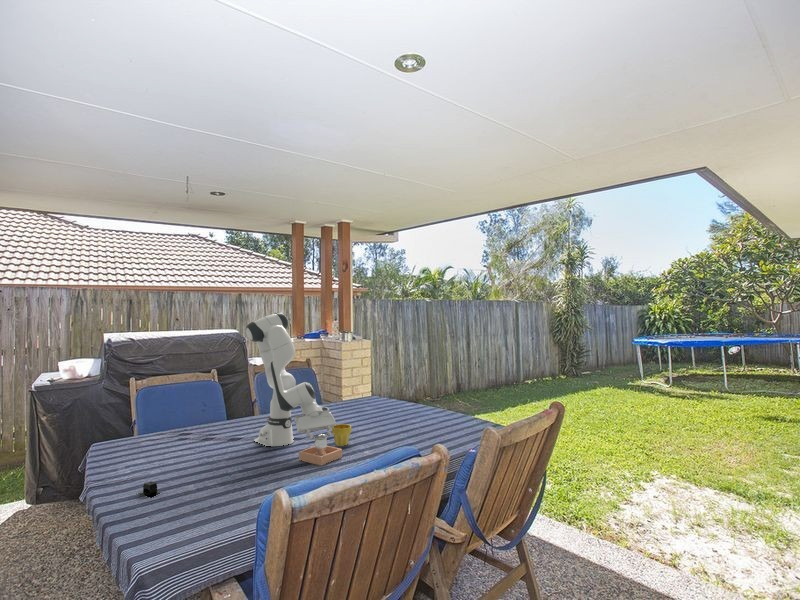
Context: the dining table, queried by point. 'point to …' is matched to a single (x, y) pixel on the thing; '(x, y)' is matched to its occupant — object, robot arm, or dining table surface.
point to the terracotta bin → (310, 456)
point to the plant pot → (341, 434)
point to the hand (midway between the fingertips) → (321, 436)
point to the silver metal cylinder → (321, 445)
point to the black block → (149, 489)
